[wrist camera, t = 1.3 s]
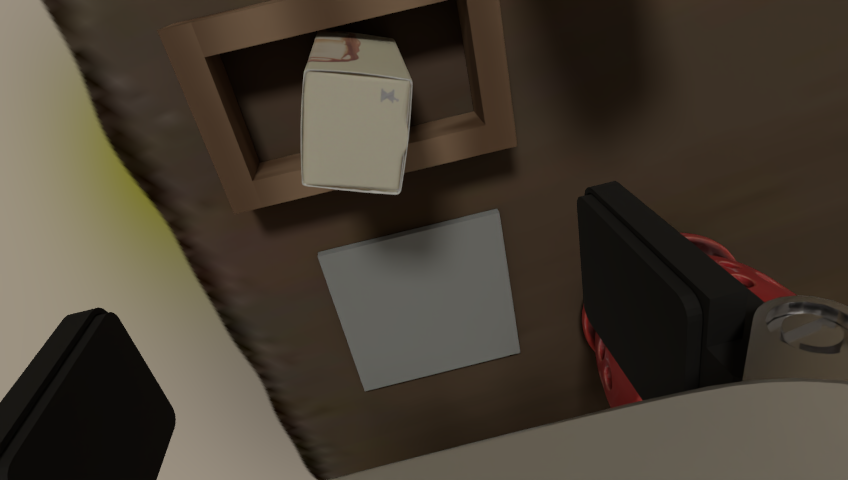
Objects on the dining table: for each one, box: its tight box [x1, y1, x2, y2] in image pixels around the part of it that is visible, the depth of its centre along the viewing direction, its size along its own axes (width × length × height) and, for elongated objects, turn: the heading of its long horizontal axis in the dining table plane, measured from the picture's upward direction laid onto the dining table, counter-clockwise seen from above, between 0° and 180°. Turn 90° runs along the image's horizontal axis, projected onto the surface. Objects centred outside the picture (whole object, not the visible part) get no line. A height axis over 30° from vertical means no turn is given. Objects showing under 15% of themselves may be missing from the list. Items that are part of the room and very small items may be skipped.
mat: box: [318, 209, 520, 391], centre depth 38 cm, size 12×12×1 cm
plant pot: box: [582, 233, 796, 408], centre depth 35 cm, size 13×13×12 cm
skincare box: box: [301, 30, 413, 195], centre depth 26 cm, size 5×4×10 cm
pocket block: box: [157, 0, 517, 214], centre depth 29 cm, size 16×10×3 cm, turn 101°
